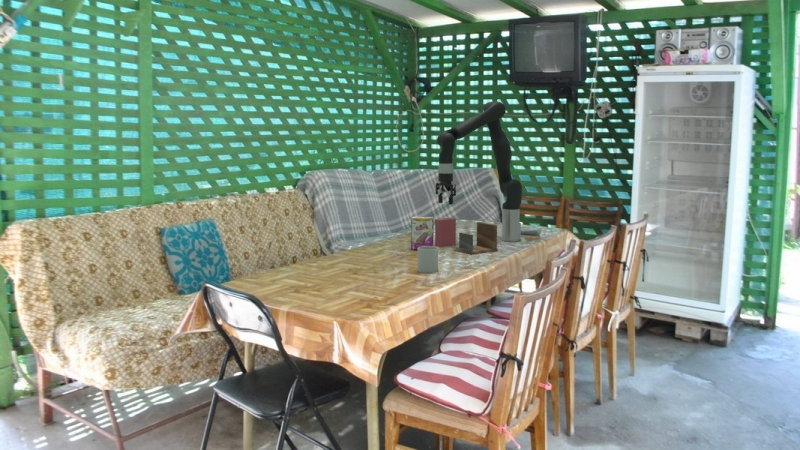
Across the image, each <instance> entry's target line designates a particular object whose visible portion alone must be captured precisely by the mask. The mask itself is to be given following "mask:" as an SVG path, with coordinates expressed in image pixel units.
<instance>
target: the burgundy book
mask: <svg viewBox="0 0 800 450" xmlns="http://www.w3.org/2000/svg"><path fill="white" fill-rule="evenodd" d="M456 225H457V219H456V218H453V217H447V218H446V217H445V218H435V219H434V247H438V248H445V247H452V246H453V245H454V246H456V243H457V241H456V240H457V237H456V236H457V234H456V233H457V232H456V231H457V230H456V229H457V226H456ZM454 246H453V247H454Z"/></svg>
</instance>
